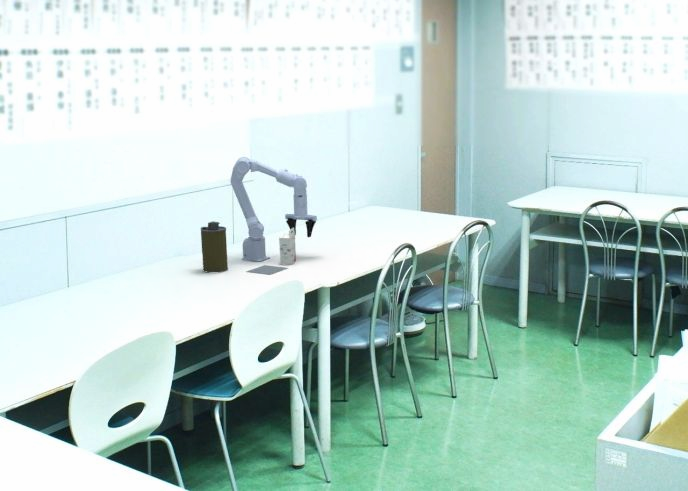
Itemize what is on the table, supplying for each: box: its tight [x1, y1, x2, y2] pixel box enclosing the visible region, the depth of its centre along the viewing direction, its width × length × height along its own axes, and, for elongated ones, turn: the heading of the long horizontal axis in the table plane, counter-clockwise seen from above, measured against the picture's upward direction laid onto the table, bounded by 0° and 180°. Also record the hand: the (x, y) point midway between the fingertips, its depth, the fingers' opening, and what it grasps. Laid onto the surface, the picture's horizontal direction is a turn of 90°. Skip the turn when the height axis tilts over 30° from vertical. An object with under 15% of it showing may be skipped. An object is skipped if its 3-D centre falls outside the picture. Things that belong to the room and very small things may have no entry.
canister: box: [200, 221, 229, 273], centre depth 405 cm, size 11×10×20 cm
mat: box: [245, 264, 289, 276], centre depth 405 cm, size 12×13×1 cm
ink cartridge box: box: [278, 227, 297, 266], centre depth 416 cm, size 9×5×15 cm, turn 168°
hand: (301, 236), depth 424 cm, fingers open, 7 cm apart
